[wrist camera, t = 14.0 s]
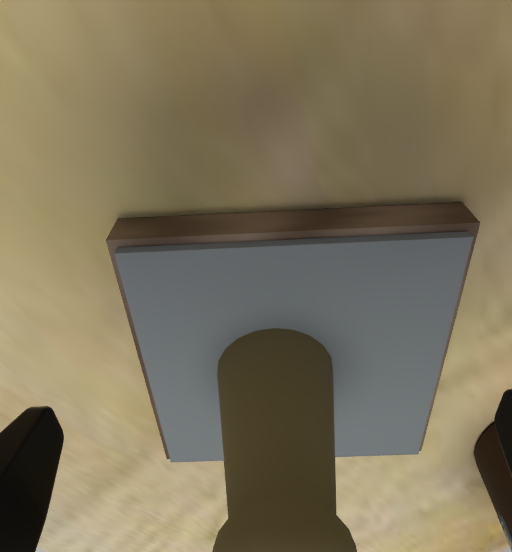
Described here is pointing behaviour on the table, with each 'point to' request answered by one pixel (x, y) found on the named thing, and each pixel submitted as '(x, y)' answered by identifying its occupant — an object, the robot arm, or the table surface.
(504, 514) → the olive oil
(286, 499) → the brown rounded upright piece
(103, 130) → the table surface
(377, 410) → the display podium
